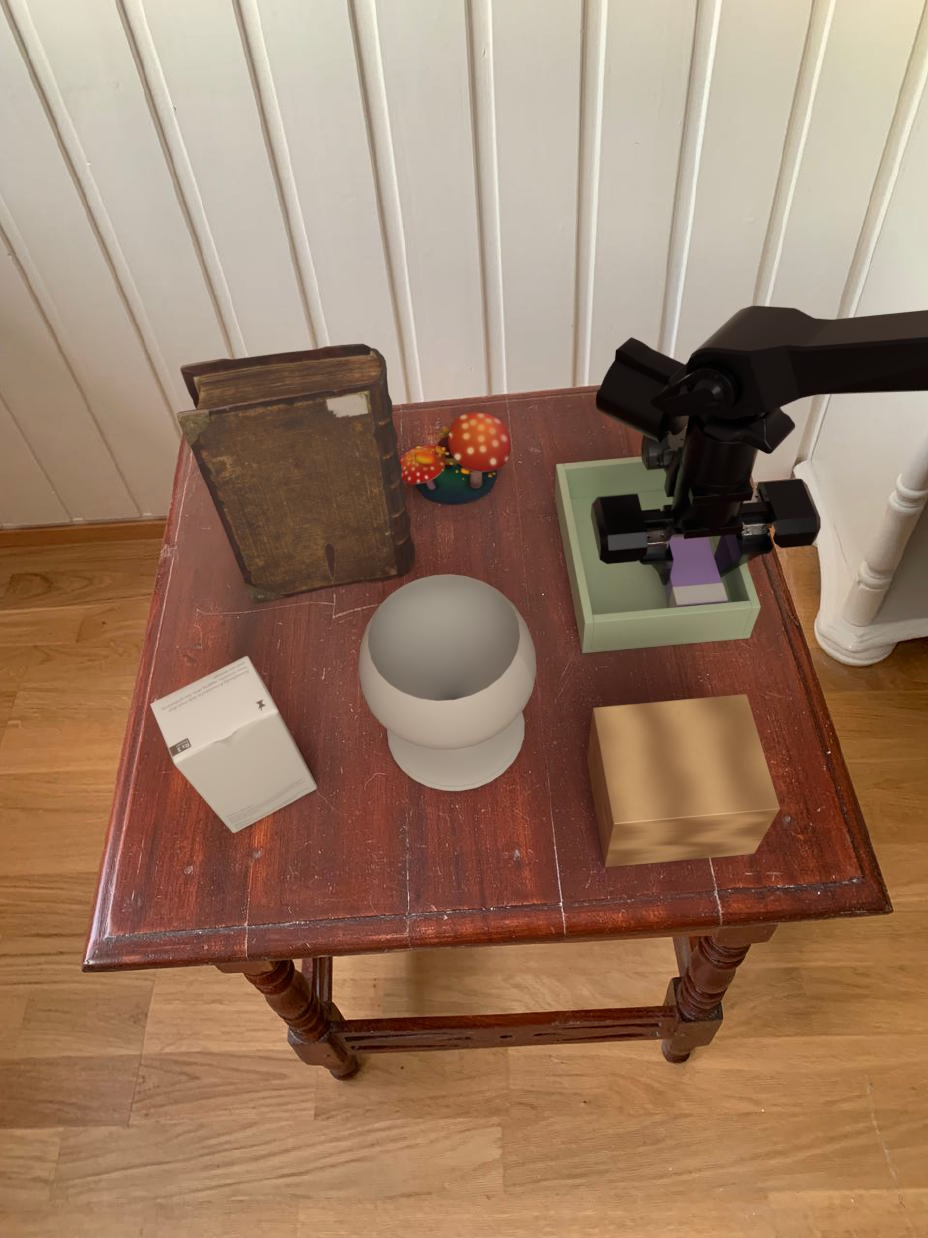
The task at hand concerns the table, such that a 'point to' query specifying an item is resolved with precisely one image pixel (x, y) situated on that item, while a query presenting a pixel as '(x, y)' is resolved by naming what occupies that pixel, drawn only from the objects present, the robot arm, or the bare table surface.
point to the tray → (635, 570)
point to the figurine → (459, 460)
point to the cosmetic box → (233, 745)
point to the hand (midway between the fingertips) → (688, 578)
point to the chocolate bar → (694, 574)
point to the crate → (679, 780)
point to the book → (302, 467)
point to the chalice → (449, 679)
